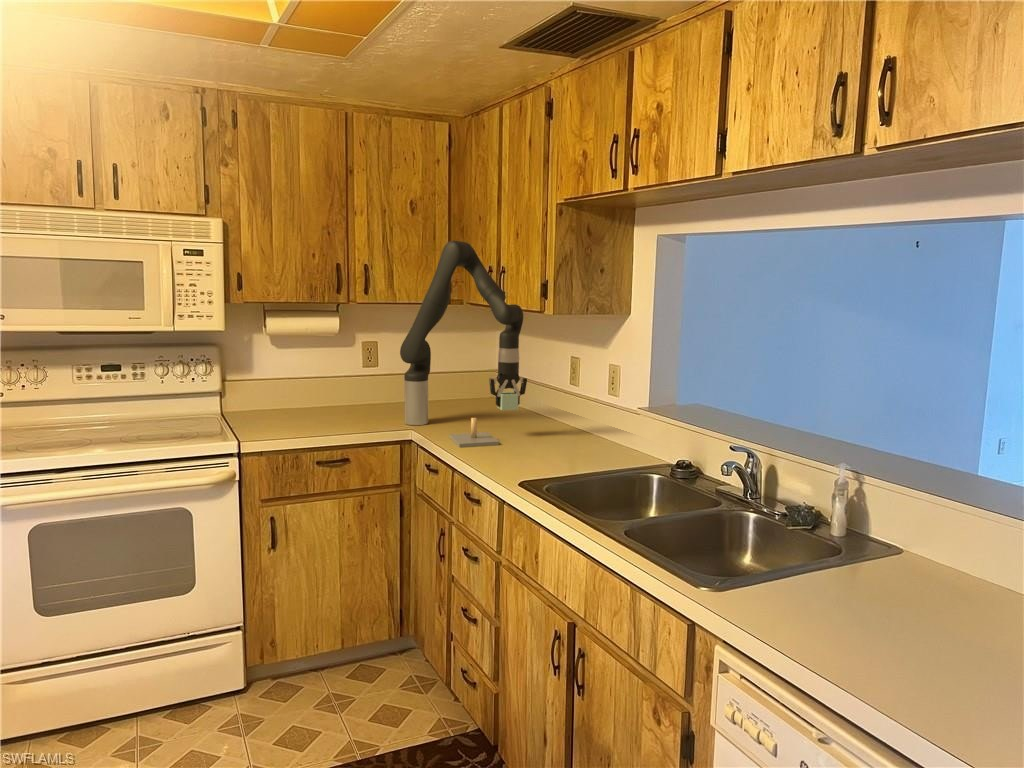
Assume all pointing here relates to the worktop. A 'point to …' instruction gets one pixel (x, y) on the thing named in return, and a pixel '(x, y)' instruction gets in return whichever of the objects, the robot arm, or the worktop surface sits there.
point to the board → (475, 441)
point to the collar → (509, 401)
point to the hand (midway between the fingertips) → (507, 406)
